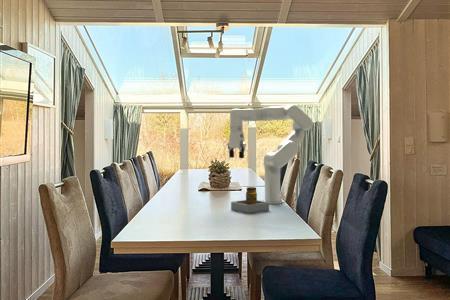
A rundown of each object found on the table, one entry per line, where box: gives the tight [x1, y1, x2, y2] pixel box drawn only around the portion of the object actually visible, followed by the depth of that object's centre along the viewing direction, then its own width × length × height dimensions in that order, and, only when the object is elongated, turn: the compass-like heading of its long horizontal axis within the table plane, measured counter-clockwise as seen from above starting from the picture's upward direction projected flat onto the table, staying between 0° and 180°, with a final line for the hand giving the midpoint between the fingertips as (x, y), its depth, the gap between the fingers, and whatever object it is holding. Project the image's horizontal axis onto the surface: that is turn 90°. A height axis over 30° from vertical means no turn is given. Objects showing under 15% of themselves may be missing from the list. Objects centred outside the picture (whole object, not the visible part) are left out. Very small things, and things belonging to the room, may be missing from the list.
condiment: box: [245, 186, 258, 205], centre depth 226 cm, size 7×8×12 cm
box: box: [230, 199, 270, 214], centre depth 226 cm, size 15×15×4 cm
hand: (236, 157), depth 245 cm, fingers open, 9 cm apart
